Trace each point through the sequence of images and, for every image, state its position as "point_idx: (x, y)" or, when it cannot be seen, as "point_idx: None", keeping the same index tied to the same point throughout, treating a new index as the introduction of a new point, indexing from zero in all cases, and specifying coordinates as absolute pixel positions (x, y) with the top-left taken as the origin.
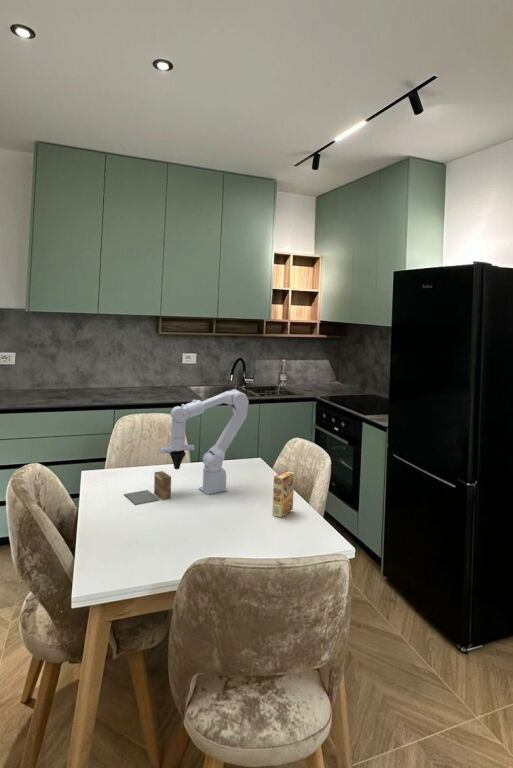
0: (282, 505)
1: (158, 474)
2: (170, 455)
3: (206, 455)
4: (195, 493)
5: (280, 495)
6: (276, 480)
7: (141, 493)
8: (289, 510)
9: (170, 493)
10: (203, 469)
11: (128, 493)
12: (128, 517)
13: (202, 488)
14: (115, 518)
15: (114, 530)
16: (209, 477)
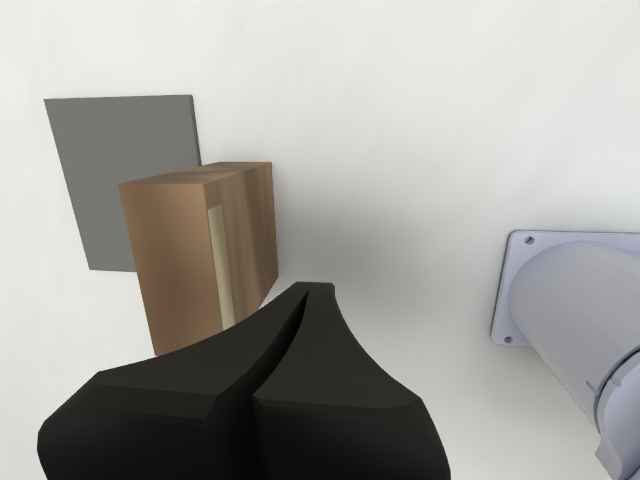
0: None
1: (139, 262)
2: (160, 360)
3: None
4: (440, 285)
5: None
6: None
7: (141, 142)
8: None
9: (268, 289)
10: (619, 375)
11: (69, 103)
12: (57, 360)
13: (524, 261)
14: (11, 343)
15: (11, 416)
16: (576, 403)
